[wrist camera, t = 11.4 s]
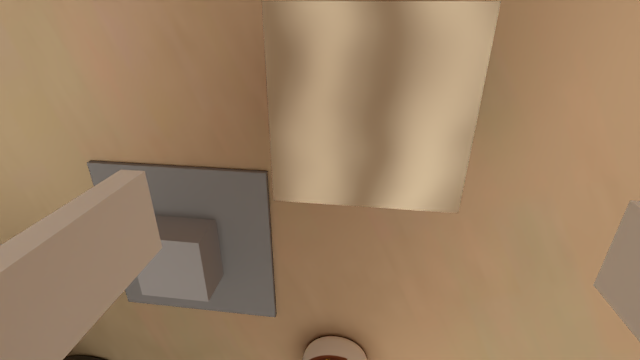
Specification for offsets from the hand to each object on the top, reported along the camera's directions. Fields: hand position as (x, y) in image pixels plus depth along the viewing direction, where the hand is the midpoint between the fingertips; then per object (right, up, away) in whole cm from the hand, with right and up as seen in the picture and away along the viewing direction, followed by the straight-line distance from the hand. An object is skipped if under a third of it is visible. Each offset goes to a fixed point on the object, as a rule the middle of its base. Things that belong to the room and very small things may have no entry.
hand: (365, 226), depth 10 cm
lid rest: (-15, -5, +28) cm, 32 cm away
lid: (+2, +6, +12) cm, 14 cm away
